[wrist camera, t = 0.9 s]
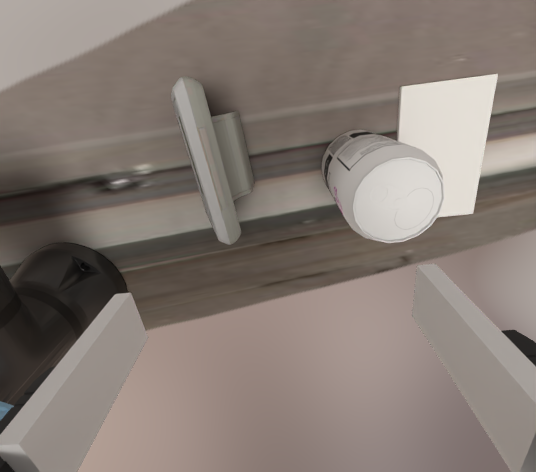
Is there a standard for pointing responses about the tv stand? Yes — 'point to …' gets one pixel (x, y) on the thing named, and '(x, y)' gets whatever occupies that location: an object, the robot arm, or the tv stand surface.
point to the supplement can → (383, 185)
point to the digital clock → (214, 156)
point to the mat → (450, 132)
